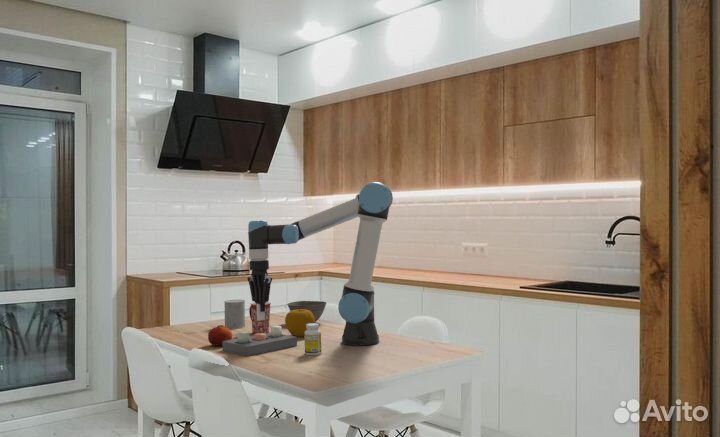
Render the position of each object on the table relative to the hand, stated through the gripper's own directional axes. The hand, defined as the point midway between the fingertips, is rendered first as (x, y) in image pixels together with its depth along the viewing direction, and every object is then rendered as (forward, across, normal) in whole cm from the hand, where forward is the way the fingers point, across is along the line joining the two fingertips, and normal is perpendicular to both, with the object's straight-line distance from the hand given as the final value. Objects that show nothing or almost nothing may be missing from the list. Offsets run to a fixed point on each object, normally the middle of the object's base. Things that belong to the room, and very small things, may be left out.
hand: (261, 319), depth 237 cm
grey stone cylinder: (+11, +48, -22) cm, 54 cm away
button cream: (+8, 0, -8) cm, 11 cm away
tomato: (+11, +18, +7) cm, 22 cm away
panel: (+11, 0, 0) cm, 11 cm away
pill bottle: (+12, -24, -6) cm, 27 cm away
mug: (+11, +28, -20) cm, 36 cm away
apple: (+11, +8, -27) cm, 30 cm away
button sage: (+8, 0, +8) cm, 11 cm away
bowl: (+11, +28, -50) cm, 58 cm away
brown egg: (+10, +1, 0) cm, 10 cm away
